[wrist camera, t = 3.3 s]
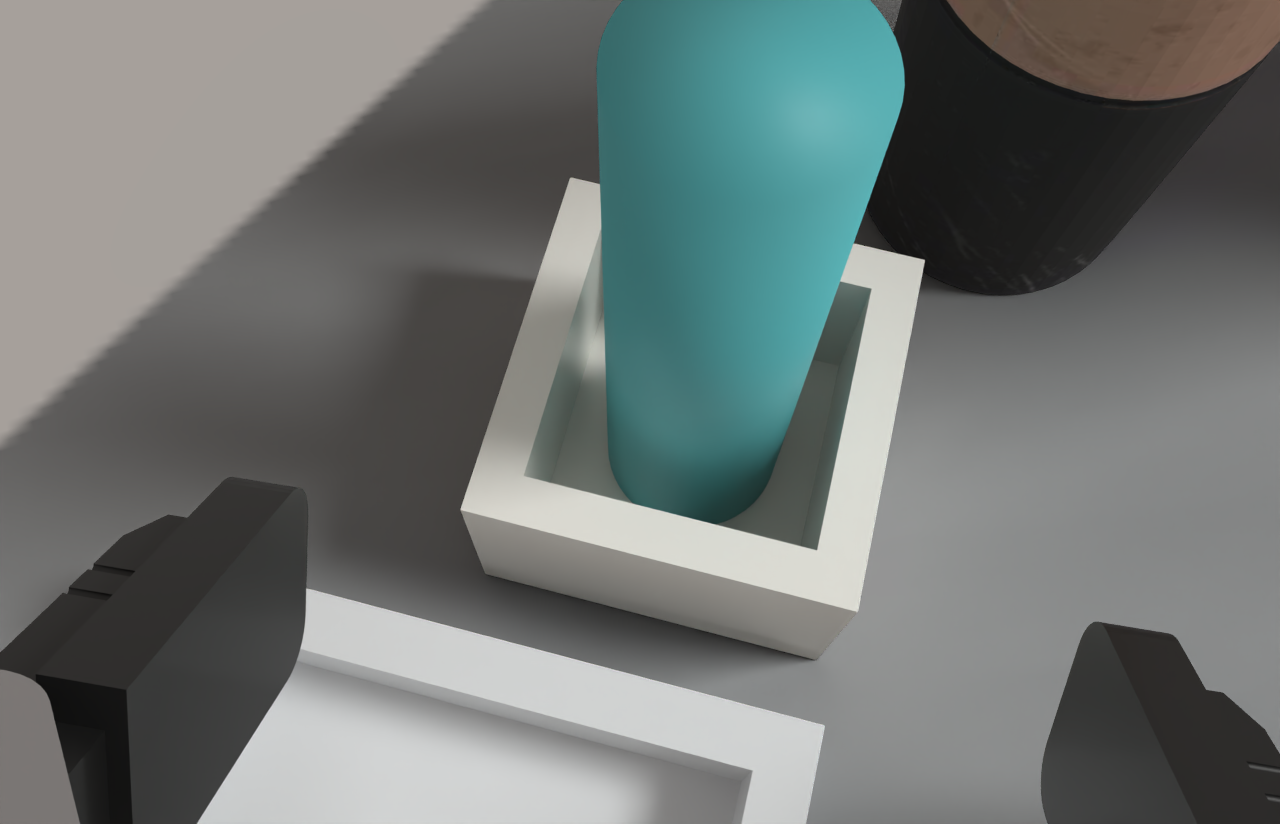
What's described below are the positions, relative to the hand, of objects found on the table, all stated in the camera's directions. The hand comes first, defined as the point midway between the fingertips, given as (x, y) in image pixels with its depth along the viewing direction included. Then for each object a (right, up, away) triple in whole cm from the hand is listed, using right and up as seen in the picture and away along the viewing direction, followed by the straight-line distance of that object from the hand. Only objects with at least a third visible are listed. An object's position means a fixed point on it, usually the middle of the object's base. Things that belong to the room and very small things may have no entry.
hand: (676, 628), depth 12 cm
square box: (+1, +1, +17) cm, 17 cm away
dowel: (+1, +1, +16) cm, 16 cm away
